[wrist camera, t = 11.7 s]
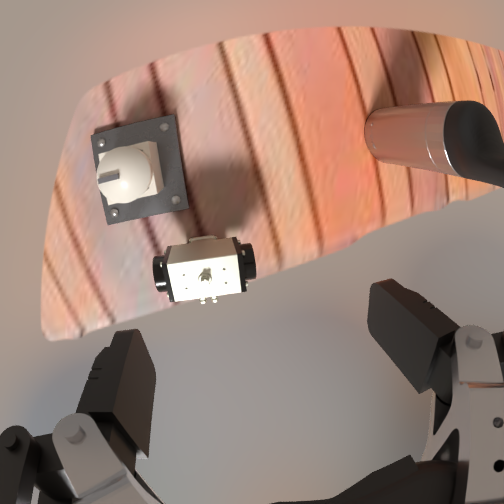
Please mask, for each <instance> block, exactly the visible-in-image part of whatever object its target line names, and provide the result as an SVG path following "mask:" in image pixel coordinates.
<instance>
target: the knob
mask: <svg viewBox="0 0 504 504" xmlns="http://www.w3.org/2000/svg"><path fill="white" fill-rule="evenodd" d="M98 155H99V161H100V163H99V165H98V169H97V183H98V186H99V189H100V191H101V192H102V194H103V195H104V196H105V197H106V198H107V202H108V205H111V204H116V203H129V202H132V201H134V200H136V199H137V198H141V197H146V196H151V195H155V194H158V193H159V192H160V191H161V190H162V189H163V188H164V184H163V178H162V172H161V167H160V161H159V154H158V148H157V142H151V141H146V142H142V143H138V144H134V145H130V146H124V147H117V148H114V149H112V150H110V151H108V152H104V153H101V154H98Z"/></svg>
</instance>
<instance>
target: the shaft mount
mask: <svg viewBox="0 0 504 504" xmlns="http://www.w3.org/2000/svg"><path fill="white" fill-rule="evenodd" d="M91 141H92V148H93V155H94V161H95V167H96V173H97V169H98V165H99V163H100V161H99V155H98V154H101V153H104V152H108V151H110V150H112V149H114V148H117V147H124V146H130V145H134V144H138V143H142V142H146V141H151V142H157V148H158V154H159V161H160V167H161V172H162V178H163V184H164V188H163V189H162V190H161V191H160V192H159V193H158V194H155V195H151V196H146V197H141V198H137V199H136V200H134V201H132V202H129V203H116V204H111V205H108V202H107V198H106V197H105V196H104V195H103V194H102V192H101V191H100V193H101V198H102V203H103V207H104V212H105V216H106V220H107V224H108V225H111V224H115V223H120V222H124V221H129V220H134V219H138V218H143V217H148V216H153V215H158V214H163V213H168V212H173V211H178V210H184V209H189V203H188V198H187V192H186V186H185V180H184V174H183V168H182V161H181V155H180V148H179V142H178V135H177V127H176V120H175V115H174V114H173V115H168V116H164V117H159V118H154V119H150V120H145V121H141V122H137V123H133V124H129V125H125V126H122V127H118V128H114V129H111V130H107V131H104V132H101V133H97V134H94V135H91Z"/></svg>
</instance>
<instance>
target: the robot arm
mask: <svg viewBox="0 0 504 504" xmlns="http://www.w3.org/2000/svg"><path fill="white" fill-rule="evenodd" d="M365 140H366V144H367V146H368V148H369V150H370V152H371V153H372V155H373V156H374V157H375V158H377V159H378V160H379V161H381V162H384V163H389V164H396V165H401V166H407V167H413V168H419V169H424V170H429V171H434V172H439V173H444V174H449V175H454V176H458V177H463V178H467V179H472V180H476V181H481V182H485V183H489V184H493V185H496V186H500V187H502V188H504V143H503V140H502V137H501V133H500V130H499V127H498V125H497V122H496V120H495V118H494V117H493V115H492V113H491V112H490V111H489V110H488V109H487V108H486V107H485V106H484V105H483V104H481V103H479V102H476V101H450V102H436V103H424V104H414V105H405V106H396V107H388V108H382V109H378V110H376V111H374V112H373V113H372V114H371V115H370V116H369V118H368V119H367V122H366V125H365ZM367 323H368V328H369V332H370V334H371V335H372V337H373V338H374V339H375V340H376V341H377V343H378V344H379V345H380V346H381V347H382V349H383V350H384V351H385V352H386V353H387V355H388V356H389V357H390V358H391V360H392V361H393V362H394V363H395V364H396V366H397V367H398V368H399V369H400V370H401V372H402V373H403V374H404V376H405V377H406V378H407V379H408V380H409V382H410V383H411V384H412V385H413V387H414V388H415V389H416V390H417V392H418V393H419V394H420V393H422V392H424V391H426V390H428V389H430V388H432V389H433V391H434V392H433V395H432V399H431V414H430V424H429V433H428V441H427V445H426V448H425V451H424V453H423V455H422V458H421V461H420V462H414V460H413V458H412V457H411V455H408V456H406V457H404V458H402V459H400V460H398V461H396V462H394V463H392V464H390V465H388V466H386V467H383V468H381V469H379V470H377V471H374V472H372V473H371V474H369V475H368V476H366V477H365V478H363V479H362V480H360V481H359V482H358V483H356V484H354V485H353V486H351V487H350V488H348V489H347V490H345V491H344V492H342V493H340V494H339V495H337V496H335V497H333V498H330V499H325V500H314V501H297V502H276V503H272V504H504V331H503V332H499V333H495V334H490V333H489V332H488V331H487V330H485V329H483V328H481V327H479V326H475V325H466V326H463V327H460V326H458V325H457V324H456V323H455V322H453V321H452V320H451V319H450V318H449V317H448V316H446V315H445V314H444V313H443V312H441V311H440V310H439V309H438V308H435V307H434V305H432V304H431V303H430V302H427V300H426V299H425V298H424V297H422V296H421V295H420V294H419V293H417V292H414V291H411V290H409V289H407V288H404V287H403V286H402V285H400V284H399V283H397V282H396V281H395V280H394V279H387V280H384V281H380V282H376V283H373V284H372V286H371V288H370V296H369V308H368V319H367ZM155 384H156V372H155V368H154V364H153V362H152V360H151V357H150V355H149V352H148V350H147V347H146V345H145V343H144V340H143V338H142V335H141V333H140V331H139V330H138V329H131V330H123V331H117V332H116V333H115V334H114V337H113V339H112V342H111V345H110V347H105V348H104V349H103V350H102V351H101V352H100V353H99V355H98V356H97V357H96V358H95V361H94V363H93V366H92V371H90V374H89V376H88V380H87V382H86V384H85V387H84V390H83V393H82V395H81V398H80V401H79V404H78V407H77V410H76V413H74V414H70V415H68V416H66V417H64V418H63V419H61V420H60V421H59V422H58V423H57V425H56V426H55V428H54V430H53V433H51V434H46V435H42V436H36V437H32V435H31V434H30V433H29V432H28V431H27V430H26V429H25V428H24V427H22V426H11V427H9V428H7V429H6V430H4V431H3V433H2V434H1V435H0V504H31V499H32V493H33V487H34V486H35V487H36V488H37V489H39V490H40V493H39V498H38V504H165V503H164V502H163V501H162V500H161V498H160V497H159V496H158V495H157V494H156V493H155V492H154V491H153V489H152V488H151V487H150V486H149V485H148V483H147V482H146V481H145V480H144V479H143V477H142V476H141V475H140V474H139V472H138V471H137V470H136V469H135V463H136V459H148V456H149V443H150V431H151V420H152V411H153V402H154V393H155Z"/></svg>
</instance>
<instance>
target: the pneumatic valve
mask: <svg viewBox="0 0 504 504" xmlns="http://www.w3.org/2000/svg"><path fill="white" fill-rule="evenodd" d="M214 239H215V240H214ZM189 242H190V243H188V244H181V245H174V246H168V247H167V250H165V251H164V254H165V255H161V256H155V257H154V258H153V276H154V281H155V285H156V288H157V290H158V291H159V292H166V291H168V292H167V296H168V297H169V300H170V302H175V301H183V300H190V299H198V298H199V299H200V303H201V304H205V303H206V302H207V300H206V297H211V301H212V302H217V301H218V298H217V296H219V295H226V294H233V293H240V292H245V291H247V290H246V286H248V282H247V281H245V280H251V279H256V263H255V257H254V252H253V248H252V245H251V243H247V244H241V243H240V240H237V238H236V237H232V238H223V239H217V237H216V236H213V235H207V236H200V237H193V238H191V239H189Z"/></svg>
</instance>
